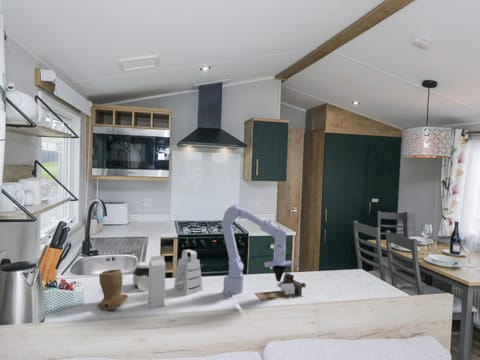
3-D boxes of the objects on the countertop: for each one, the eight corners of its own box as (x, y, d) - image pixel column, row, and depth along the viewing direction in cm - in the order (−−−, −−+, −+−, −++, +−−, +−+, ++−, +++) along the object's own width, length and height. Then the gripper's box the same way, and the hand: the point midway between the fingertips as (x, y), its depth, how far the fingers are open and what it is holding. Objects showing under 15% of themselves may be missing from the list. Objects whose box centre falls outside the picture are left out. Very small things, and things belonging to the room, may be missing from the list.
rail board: (261, 303, 152) (262, 290, 152) (254, 295, 162) (254, 283, 162) (303, 299, 160) (304, 286, 159) (293, 291, 169) (294, 279, 169)
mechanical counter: (286, 271, 184) (278, 272, 176) (307, 274, 178) (301, 274, 169) (285, 285, 183) (278, 286, 175) (307, 288, 176) (300, 289, 168)
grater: (186, 295, 159) (187, 254, 158) (173, 289, 166) (174, 250, 165) (202, 290, 166) (204, 251, 166) (189, 284, 174) (191, 247, 173)
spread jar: (146, 281, 176) (147, 260, 175) (160, 286, 169) (161, 264, 169) (127, 287, 166) (127, 265, 166) (141, 293, 160) (142, 269, 159)
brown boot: (106, 297, 154) (107, 265, 153) (131, 298, 153) (131, 266, 152) (89, 311, 139) (90, 276, 138) (116, 312, 138) (117, 277, 137)
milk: (148, 303, 149) (148, 255, 148) (161, 301, 151) (162, 253, 151) (150, 308, 143) (152, 258, 142) (164, 306, 146) (165, 257, 145)
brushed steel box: (287, 297, 157) (287, 289, 157) (280, 292, 164) (281, 284, 164) (300, 295, 160) (300, 287, 159) (293, 290, 166) (293, 283, 166)
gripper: (269, 256, 154) (267, 284, 154) (296, 254, 158) (295, 282, 159) (263, 252, 160) (262, 279, 161) (289, 250, 165) (288, 277, 166)
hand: (278, 280), depth 160 cm, fingers closed
